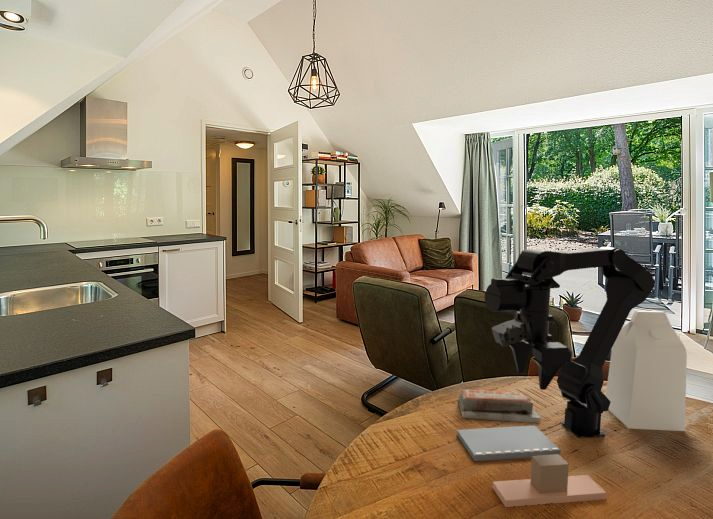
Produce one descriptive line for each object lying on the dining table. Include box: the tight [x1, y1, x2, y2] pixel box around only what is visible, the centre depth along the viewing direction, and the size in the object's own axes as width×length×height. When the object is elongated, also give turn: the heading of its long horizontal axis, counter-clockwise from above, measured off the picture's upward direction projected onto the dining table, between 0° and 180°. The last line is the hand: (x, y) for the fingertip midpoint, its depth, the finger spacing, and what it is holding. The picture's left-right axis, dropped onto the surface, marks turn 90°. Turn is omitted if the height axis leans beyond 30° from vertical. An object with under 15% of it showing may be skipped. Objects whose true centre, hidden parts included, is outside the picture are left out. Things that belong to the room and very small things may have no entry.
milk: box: [605, 310, 688, 432], centre depth 100 cm, size 12×12×26 cm
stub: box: [492, 454, 607, 508], centre depth 73 cm, size 18×5×6 cm, turn 96°
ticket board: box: [456, 424, 562, 462], centre depth 89 cm, size 18×10×1 cm, turn 96°
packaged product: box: [457, 388, 541, 424], centre depth 105 cm, size 18×5×10 cm
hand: (531, 380), depth 91 cm, fingers open, 9 cm apart
